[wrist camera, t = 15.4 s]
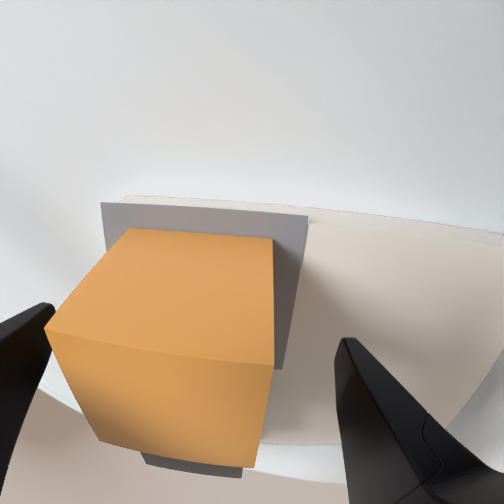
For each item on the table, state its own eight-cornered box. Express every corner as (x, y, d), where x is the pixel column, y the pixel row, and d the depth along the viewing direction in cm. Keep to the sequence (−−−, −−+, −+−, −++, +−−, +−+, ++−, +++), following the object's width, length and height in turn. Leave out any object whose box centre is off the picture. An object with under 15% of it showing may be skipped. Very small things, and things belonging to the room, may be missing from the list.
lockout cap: (272, 238, 10) (274, 364, 5) (259, 348, 12) (253, 468, 7) (129, 227, 10) (43, 327, 5) (144, 334, 12) (99, 440, 7)
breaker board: (533, 235, 10) (558, 256, 9) (437, 414, 16) (446, 438, 15) (120, 188, 11) (92, 208, 9) (157, 410, 17) (149, 438, 15)
